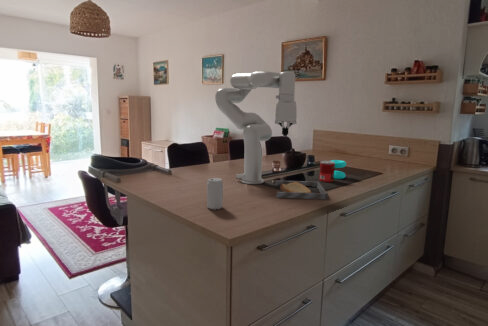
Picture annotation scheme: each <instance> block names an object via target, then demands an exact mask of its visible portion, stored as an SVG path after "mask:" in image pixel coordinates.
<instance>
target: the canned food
mask: <svg viewBox="0 0 488 326" xmlns="http://www.w3.org/2000/svg"><path fill="white" fill-rule="evenodd" d="M335 169H336V168H335V162H333V161H331V160H321V161H320V162H319V181H320V182H322V183H333V182H334V180H335V179H334V171H335Z"/></svg>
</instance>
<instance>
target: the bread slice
mask: <svg viewBox="0 0 488 326" xmlns="http://www.w3.org/2000/svg"><path fill="white" fill-rule="evenodd" d="M279 189H280V190H281V192H300V193H312V191H311V190H310V189H309V187H306V186H304V185H302V184H300V183H298V182H293V183H289V184H286V185H285V184H281V186H280V187H279Z"/></svg>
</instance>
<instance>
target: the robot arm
mask: <svg viewBox="0 0 488 326" xmlns="http://www.w3.org/2000/svg"><path fill="white" fill-rule="evenodd" d="M229 83H230V86H232V87H222V88H219V89H218V90H217V91H216V92H215V97H214V99H215V103H216V106H217V107H218V110H219V111H220V112H221V113H223V115H225V117H226V118H227V119H228V120H229V121H230V122H231V123H232V124H233V125H234V126H235V127H236V128H237V129H238V130H243V131H242V139H243V145H244V148H243V149H244V154H243V155H244V157H243V158H244V160H243V163H244V165H243V173H240V174H239V173H237V174H236V175H235V178H237V179H241V180H240V182H241V183H242V184H247V185H261V184H263V183H264V182H265V179H263V178H262V163H263V162H262V161H263V160H262V159H263V158H262V157H263V154H262V152H263V150H262V146H261V145H262V144H260V142H267V141H269V140H270V139H271V138H272V136H273V131H272V128H271V126H270V125H269V124H268V123H267V122H266V121H265V120H264V119H263V118H262V117H261V116H260V115H259V114H258V113H256V112H246V111H243V110H242V109H241V108H240V107H239V106H238V105H236V104H239V103H241V102H243V101H244V100H245V99H246V97H247V96H248V95H249V94H250V92H251V91H252V90H255V89H258V88H270V89H271V88H272V89H278V95H275V99H277V101H276V107H275V116H274V117H275V118H274V119H275V120H274V124H275V125H278V126H280V127H281V134H282V136H283V137H287V136H288V135H289V129H290V128H291V126H293V125H296V124H297V117H298V116H297V114H298V113H297V111H298V109H297V101H296V100H295V94H296V93H295V89H296V88H295V87H296V74H295V72H293V71H282V72H276V71H267V70H266V71H253V72H240V73H239V72H237V73H235V74H233V75H231V77H230V80H229ZM285 123H286V126H285Z"/></svg>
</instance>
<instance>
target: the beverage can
mask: <svg viewBox="0 0 488 326" xmlns="http://www.w3.org/2000/svg"><path fill="white" fill-rule="evenodd" d="M223 193H224V182H223V179H222V178H219V177H212V178H208V179H207V182H206V200H207V201H206V207H207V208H208V210H213V211H215V210H216V209H217V210H221V209H222V208H223V206H224V205H223V204H224V203H223V200H224V199H223V195H224V194H223Z"/></svg>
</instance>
